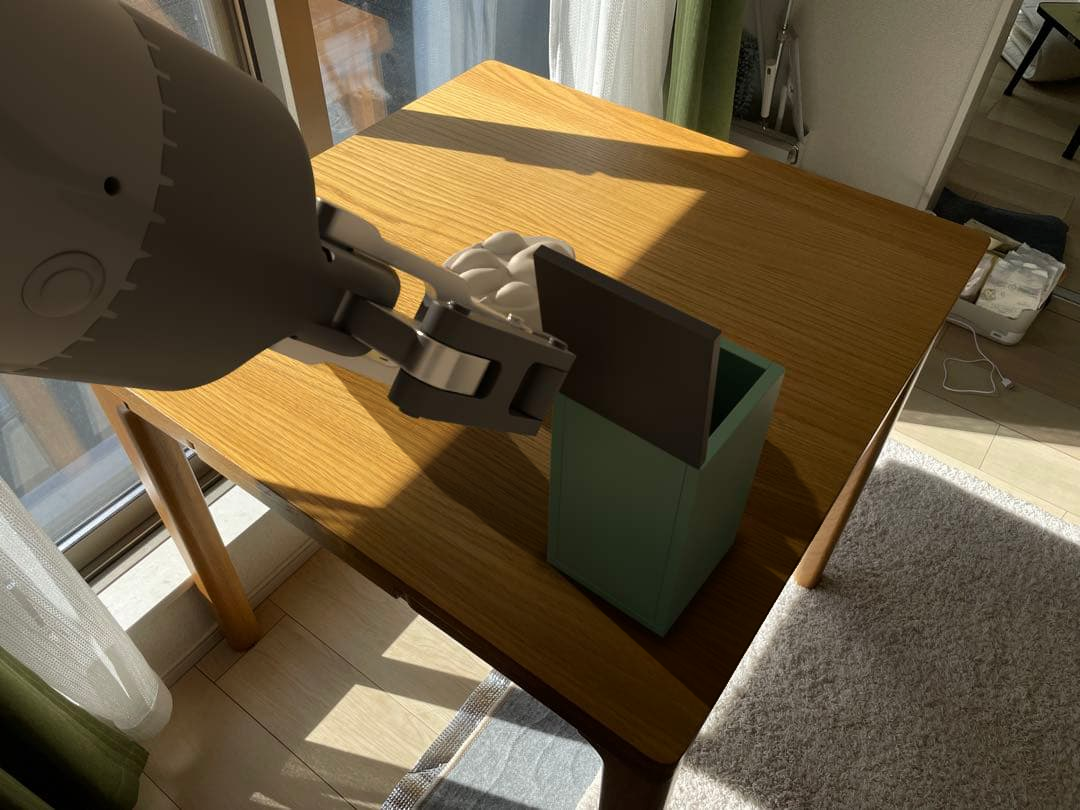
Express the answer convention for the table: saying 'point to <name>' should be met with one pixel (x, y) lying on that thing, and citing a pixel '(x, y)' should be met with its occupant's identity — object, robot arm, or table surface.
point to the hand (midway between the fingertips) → (451, 316)
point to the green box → (656, 495)
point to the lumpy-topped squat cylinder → (505, 273)
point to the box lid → (631, 355)
